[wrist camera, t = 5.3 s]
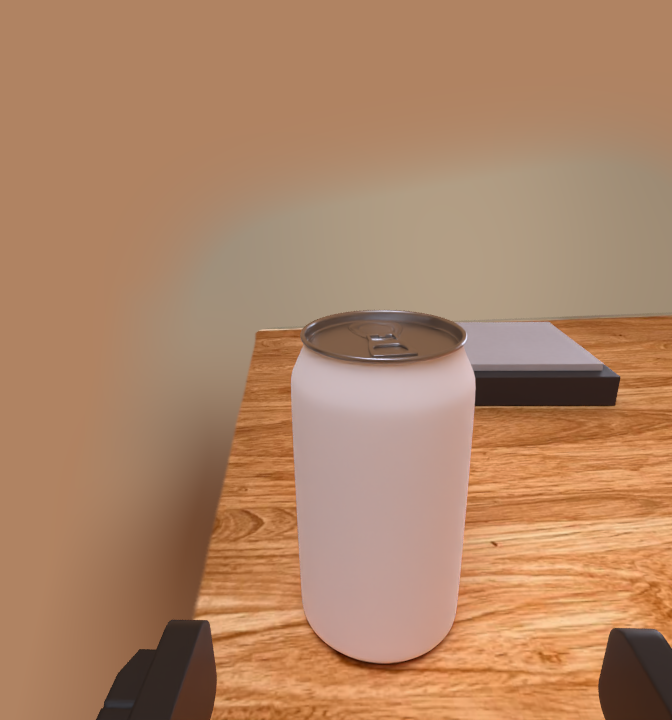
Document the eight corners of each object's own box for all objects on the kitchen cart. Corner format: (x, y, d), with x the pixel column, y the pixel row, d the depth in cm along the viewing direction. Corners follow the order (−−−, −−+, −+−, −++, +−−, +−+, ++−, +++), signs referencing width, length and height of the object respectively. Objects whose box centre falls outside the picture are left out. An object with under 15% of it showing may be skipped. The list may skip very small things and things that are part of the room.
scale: (431, 405, 39) (433, 369, 38) (412, 347, 52) (413, 319, 51) (615, 405, 39) (622, 369, 38) (548, 346, 52) (552, 318, 51)
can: (429, 542, 25) (443, 303, 21) (481, 660, 19) (516, 356, 15) (297, 555, 24) (284, 310, 20) (307, 683, 18) (291, 370, 14)
